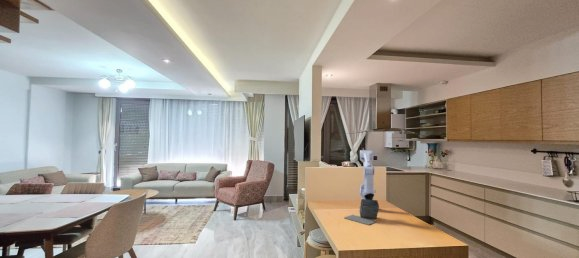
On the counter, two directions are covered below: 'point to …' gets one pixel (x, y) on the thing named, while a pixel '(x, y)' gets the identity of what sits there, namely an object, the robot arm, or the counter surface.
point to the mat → (360, 219)
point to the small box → (369, 208)
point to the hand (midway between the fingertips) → (368, 204)
